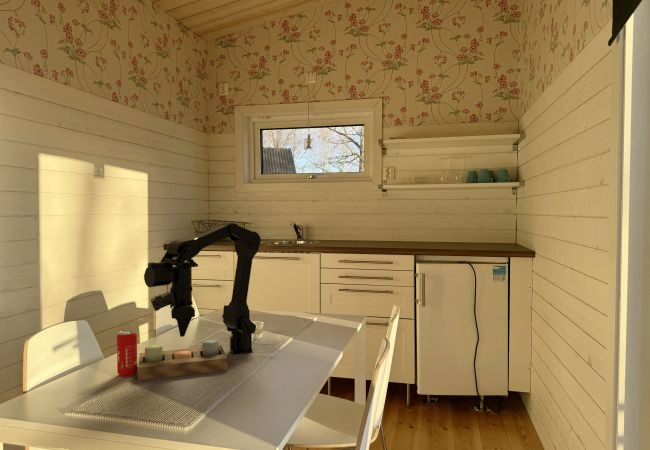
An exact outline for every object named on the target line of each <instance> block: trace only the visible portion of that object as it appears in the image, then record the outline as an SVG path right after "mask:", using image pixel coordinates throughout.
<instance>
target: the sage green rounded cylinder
mask: <svg viewBox="0 0 650 450" xmlns="http://www.w3.org/2000/svg"><path fill="white" fill-rule="evenodd" d="M201 345H202V346H201V347H202V356H203V357H204V356H213V355H219V346H220V341H219V340H217V339H207V340H203V341H202V342H201Z"/></svg>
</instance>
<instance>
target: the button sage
mask: <svg viewBox="0 0 650 450" xmlns="http://www.w3.org/2000/svg"><path fill="white" fill-rule="evenodd" d="M163 349H164V348H163V345H161V344H152V345H147V346H145V347H144V353H145V362H155V361H163V351H164V350H163Z"/></svg>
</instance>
